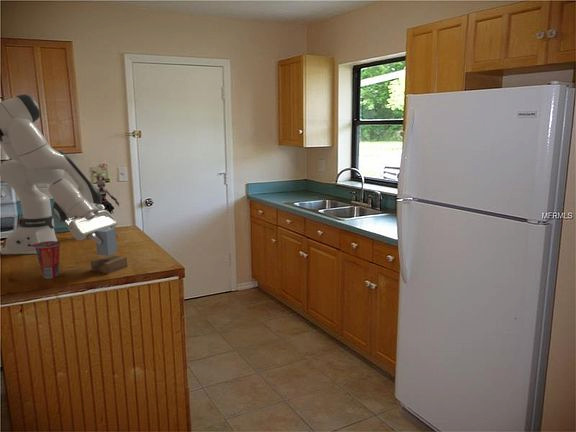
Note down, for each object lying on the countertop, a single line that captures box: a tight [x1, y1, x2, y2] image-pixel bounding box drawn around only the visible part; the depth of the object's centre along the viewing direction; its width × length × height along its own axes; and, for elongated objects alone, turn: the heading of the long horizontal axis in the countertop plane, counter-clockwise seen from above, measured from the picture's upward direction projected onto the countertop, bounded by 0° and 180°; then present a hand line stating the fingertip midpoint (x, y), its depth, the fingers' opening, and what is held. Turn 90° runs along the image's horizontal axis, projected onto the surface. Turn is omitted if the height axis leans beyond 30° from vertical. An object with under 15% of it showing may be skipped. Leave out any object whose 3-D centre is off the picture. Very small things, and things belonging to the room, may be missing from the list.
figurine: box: [96, 173, 120, 216], centre depth 230 cm, size 15×6×30 cm, turn 117°
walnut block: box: [90, 254, 128, 275], centre depth 180 cm, size 9×9×4 cm
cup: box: [30, 240, 61, 279], centre depth 171 cm, size 9×8×12 cm
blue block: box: [95, 228, 118, 256], centre depth 178 cm, size 5×5×9 cm
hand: (107, 241), depth 177 cm, fingers closed on blue block, 5 cm apart
